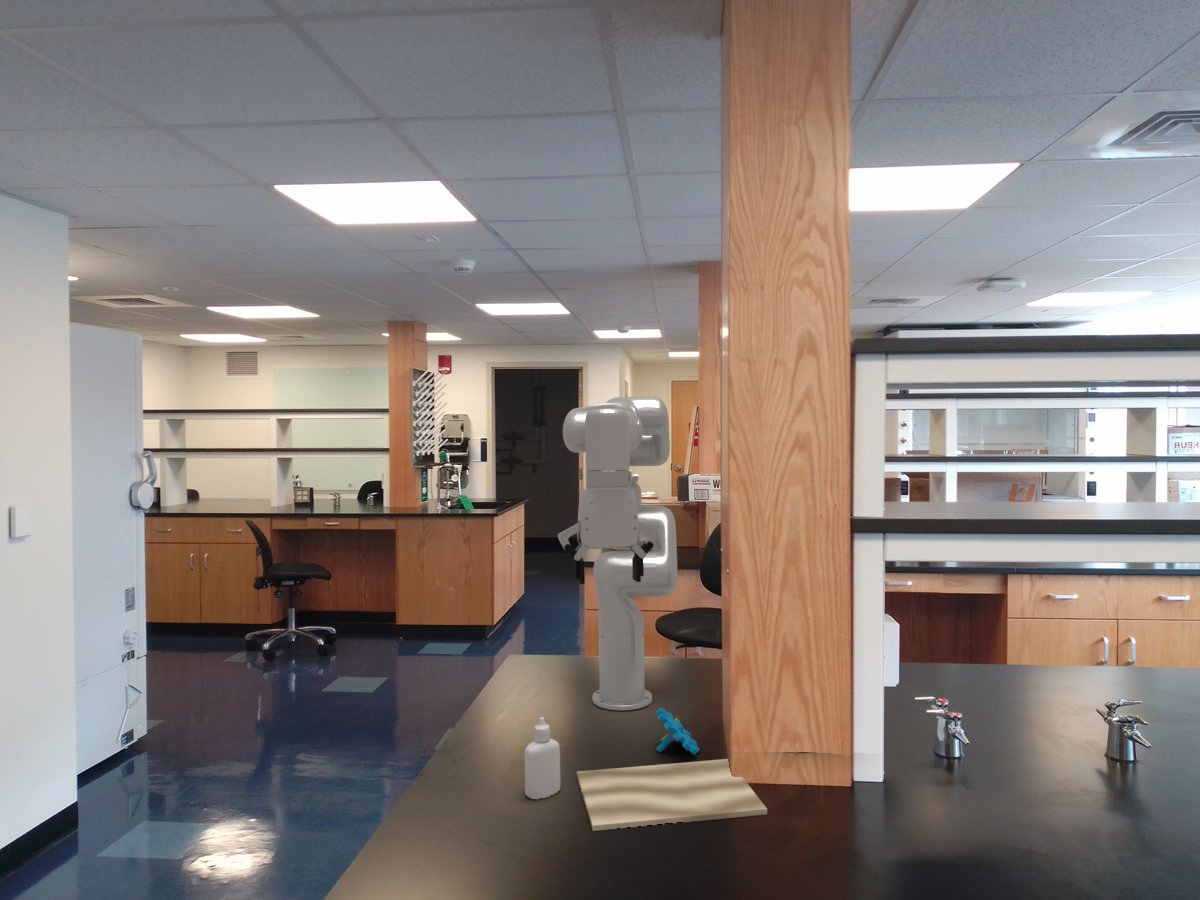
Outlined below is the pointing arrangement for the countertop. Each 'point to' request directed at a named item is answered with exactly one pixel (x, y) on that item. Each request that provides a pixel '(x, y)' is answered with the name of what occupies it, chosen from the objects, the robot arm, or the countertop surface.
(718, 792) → the beige flat sheet
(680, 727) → the gear
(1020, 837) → the countertop surface
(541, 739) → the eye dropper bottle
